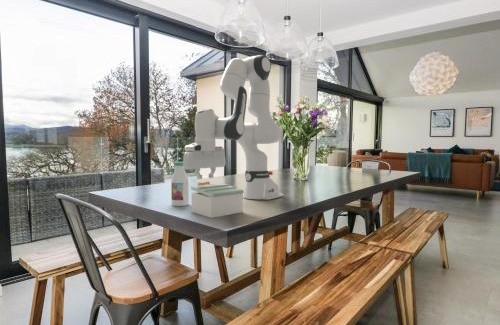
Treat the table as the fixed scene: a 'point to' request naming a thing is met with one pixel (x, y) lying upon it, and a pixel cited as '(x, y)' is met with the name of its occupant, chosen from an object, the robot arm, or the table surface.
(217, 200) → the box
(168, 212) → the table surface
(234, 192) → the snap lid
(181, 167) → the milk bottle
